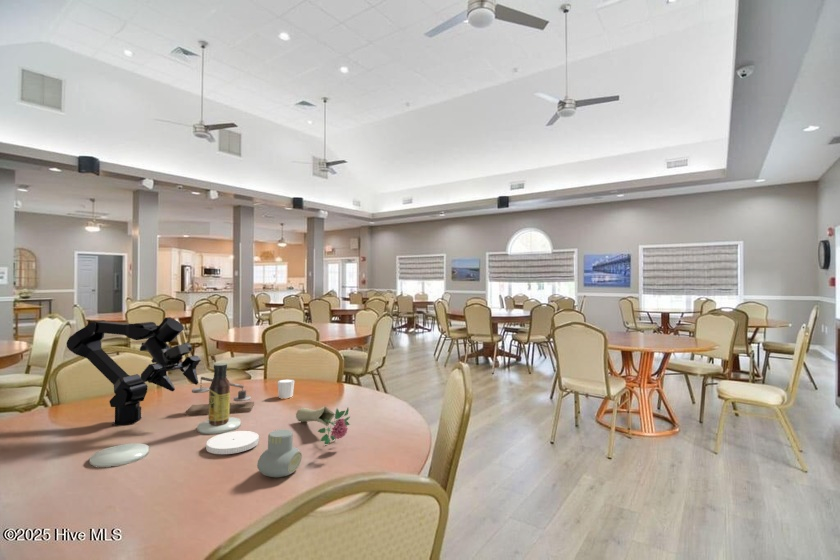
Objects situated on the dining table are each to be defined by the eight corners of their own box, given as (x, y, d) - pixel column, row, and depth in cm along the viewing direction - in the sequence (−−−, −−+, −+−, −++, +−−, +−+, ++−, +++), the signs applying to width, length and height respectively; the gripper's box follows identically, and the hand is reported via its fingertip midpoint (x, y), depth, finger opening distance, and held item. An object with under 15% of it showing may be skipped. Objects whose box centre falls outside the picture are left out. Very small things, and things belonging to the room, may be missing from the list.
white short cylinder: (289, 400, 168) (289, 383, 168) (273, 399, 169) (274, 382, 169) (297, 395, 174) (297, 379, 174) (282, 394, 176) (283, 378, 176)
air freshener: (284, 484, 97) (284, 442, 97) (252, 481, 98) (253, 439, 98) (304, 464, 107) (305, 426, 108) (276, 462, 109) (276, 424, 109)
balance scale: (185, 415, 147) (186, 379, 147) (192, 408, 154) (193, 374, 155) (250, 411, 152) (251, 377, 152) (254, 405, 159) (254, 372, 160)
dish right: (191, 435, 127) (191, 431, 127) (203, 422, 140) (203, 418, 140) (236, 432, 130) (236, 428, 130) (244, 419, 143) (244, 416, 143)
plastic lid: (205, 461, 109) (206, 452, 109) (206, 443, 122) (206, 435, 122) (261, 452, 116) (261, 443, 116) (256, 436, 128) (256, 428, 128)
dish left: (78, 469, 103) (78, 464, 103) (105, 449, 116) (105, 445, 116) (136, 465, 106) (136, 460, 106) (156, 445, 119) (156, 441, 119)
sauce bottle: (208, 421, 136) (209, 362, 137) (228, 419, 139) (229, 361, 140) (208, 427, 131) (210, 366, 131) (230, 424, 134) (231, 364, 134)
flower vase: (313, 442, 142) (363, 452, 115) (279, 439, 135) (324, 448, 109) (320, 407, 146) (370, 409, 119) (288, 402, 139) (333, 402, 113)
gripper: (148, 339, 126) (175, 377, 123) (197, 332, 144) (221, 365, 141) (128, 362, 128) (154, 400, 125) (179, 353, 146) (203, 386, 143)
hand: (185, 387), depth 133 cm, fingers open, 9 cm apart
